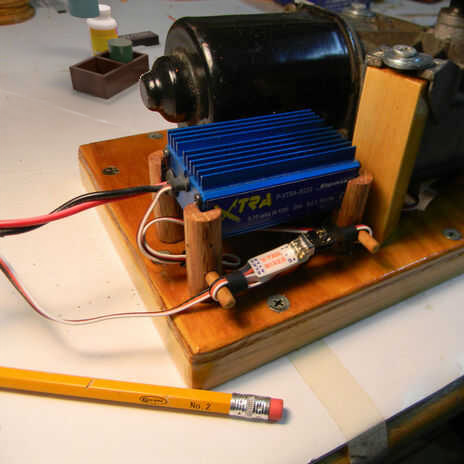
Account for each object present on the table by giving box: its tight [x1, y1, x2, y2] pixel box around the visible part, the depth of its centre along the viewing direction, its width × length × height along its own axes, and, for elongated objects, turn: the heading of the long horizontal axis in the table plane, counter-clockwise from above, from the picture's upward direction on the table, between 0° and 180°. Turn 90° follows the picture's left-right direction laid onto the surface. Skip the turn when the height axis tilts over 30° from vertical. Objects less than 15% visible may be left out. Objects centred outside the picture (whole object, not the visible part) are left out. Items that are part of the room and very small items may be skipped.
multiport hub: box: [118, 30, 160, 48], centre depth 129 cm, size 4×11×2 cm, turn 140°
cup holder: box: [68, 49, 151, 100], centre depth 107 cm, size 9×16×6 cm, turn 162°
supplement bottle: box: [86, 3, 119, 57], centre depth 114 cm, size 7×7×13 cm
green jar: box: [107, 38, 134, 64], centre depth 109 cm, size 5×5×8 cm
